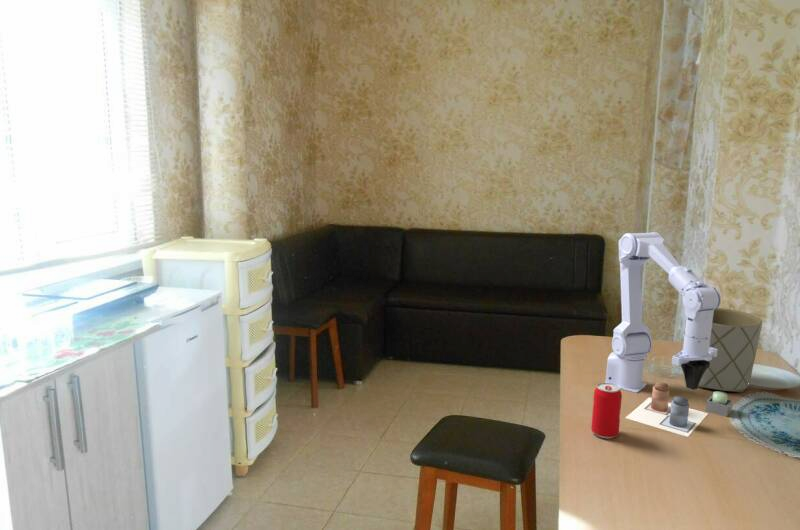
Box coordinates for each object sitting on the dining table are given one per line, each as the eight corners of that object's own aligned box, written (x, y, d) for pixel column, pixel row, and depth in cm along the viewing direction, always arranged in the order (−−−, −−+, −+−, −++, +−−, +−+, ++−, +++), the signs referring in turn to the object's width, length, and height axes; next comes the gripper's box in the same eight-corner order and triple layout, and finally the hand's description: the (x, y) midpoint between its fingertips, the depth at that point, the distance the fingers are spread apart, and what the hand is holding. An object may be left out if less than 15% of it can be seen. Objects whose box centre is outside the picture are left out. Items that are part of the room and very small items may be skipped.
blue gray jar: (666, 423, 154) (669, 399, 152) (672, 418, 157) (675, 394, 155) (683, 429, 151) (686, 404, 150) (689, 423, 154) (692, 399, 153)
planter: (759, 399, 169) (769, 329, 165) (683, 390, 175) (690, 322, 171) (746, 374, 187) (754, 310, 183) (677, 366, 193) (683, 304, 189)
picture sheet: (625, 418, 157) (625, 417, 157) (649, 397, 170) (649, 397, 170) (687, 437, 147) (687, 436, 147) (708, 414, 160) (708, 413, 160)
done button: (710, 405, 161) (711, 394, 160) (713, 401, 164) (715, 390, 163) (724, 409, 159) (725, 398, 158) (728, 404, 161) (729, 393, 161)
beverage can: (618, 430, 151) (622, 383, 148) (618, 442, 145) (622, 393, 142) (591, 426, 153) (595, 380, 150) (590, 437, 147) (594, 389, 144)
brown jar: (648, 408, 162) (650, 385, 161) (654, 403, 165) (656, 380, 164) (663, 413, 160) (666, 389, 158) (669, 408, 163) (672, 385, 161)
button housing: (705, 411, 161) (706, 400, 161) (710, 405, 165) (711, 395, 164) (726, 417, 158) (727, 406, 158) (731, 411, 162) (732, 400, 161)
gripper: (692, 344, 144) (686, 399, 147) (731, 335, 151) (724, 388, 154) (666, 336, 150) (661, 389, 153) (705, 327, 157) (699, 378, 160)
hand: (691, 387), depth 154 cm, fingers closed
